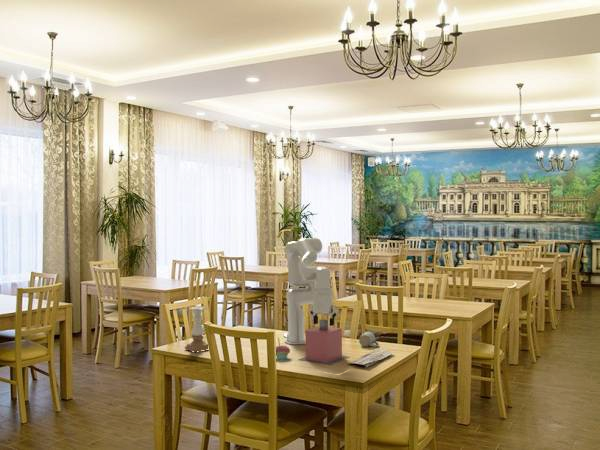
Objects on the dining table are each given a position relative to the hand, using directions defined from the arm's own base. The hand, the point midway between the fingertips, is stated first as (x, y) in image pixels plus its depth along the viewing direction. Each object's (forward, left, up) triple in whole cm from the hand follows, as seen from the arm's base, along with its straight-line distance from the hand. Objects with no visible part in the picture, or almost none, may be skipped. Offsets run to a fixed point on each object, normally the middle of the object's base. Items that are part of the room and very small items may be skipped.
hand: (323, 324), depth 304 cm
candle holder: (-72, -18, -18) cm, 77 cm away
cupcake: (-19, -11, -18) cm, 29 cm away
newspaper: (+22, +11, -19) cm, 31 cm away
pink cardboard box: (0, 0, -17) cm, 17 cm away
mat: (0, 0, -18) cm, 18 cm away
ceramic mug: (+5, +41, -18) cm, 45 cm away
